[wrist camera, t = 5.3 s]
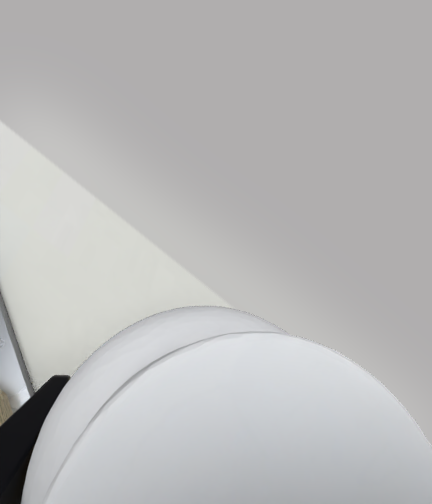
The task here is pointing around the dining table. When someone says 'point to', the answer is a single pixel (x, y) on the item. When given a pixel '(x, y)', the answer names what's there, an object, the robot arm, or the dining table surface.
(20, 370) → the carrier plate
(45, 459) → the supplement bottle
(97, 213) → the dining table surface
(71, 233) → the dining table surface
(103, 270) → the dining table surface
